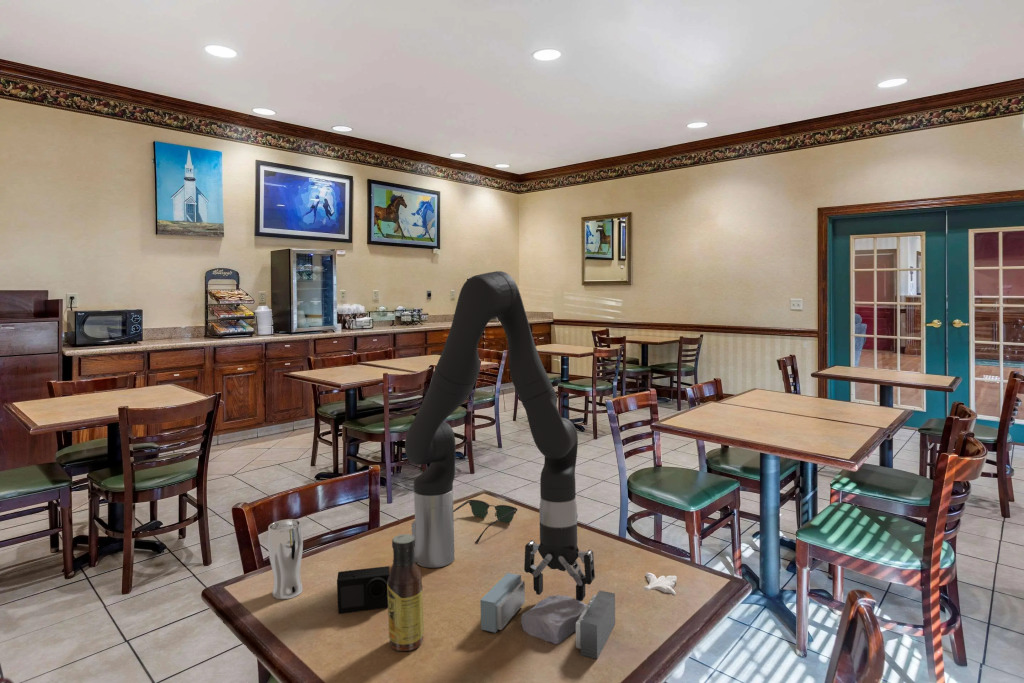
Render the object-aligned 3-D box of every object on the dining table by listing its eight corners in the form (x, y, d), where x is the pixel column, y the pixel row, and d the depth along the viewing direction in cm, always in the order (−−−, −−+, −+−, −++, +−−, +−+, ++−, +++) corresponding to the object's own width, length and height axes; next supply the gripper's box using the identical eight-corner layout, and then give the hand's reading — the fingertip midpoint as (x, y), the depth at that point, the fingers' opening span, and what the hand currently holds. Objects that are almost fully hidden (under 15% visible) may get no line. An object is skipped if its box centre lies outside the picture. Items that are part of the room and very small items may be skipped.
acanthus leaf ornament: (645, 578, 131) (645, 569, 131) (677, 582, 129) (677, 573, 128) (642, 593, 124) (642, 584, 123) (675, 598, 121) (675, 589, 121)
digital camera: (337, 617, 115) (335, 583, 115) (338, 604, 121) (337, 571, 120) (390, 610, 118) (389, 576, 117) (390, 597, 123) (389, 565, 122)
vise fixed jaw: (575, 653, 102) (574, 620, 101) (594, 619, 113) (594, 589, 112) (597, 659, 100) (596, 625, 100) (615, 623, 111) (614, 593, 111)
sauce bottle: (391, 635, 109) (388, 530, 107) (425, 632, 109) (422, 529, 108) (386, 656, 102) (383, 545, 101) (422, 653, 103) (419, 543, 101)
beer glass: (311, 588, 127) (309, 521, 126) (287, 603, 121) (284, 532, 120) (288, 582, 130) (285, 516, 129) (263, 596, 124) (259, 528, 123)
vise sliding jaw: (481, 629, 109) (480, 599, 109) (508, 599, 120) (507, 572, 120) (500, 633, 108) (499, 604, 107) (525, 603, 119) (525, 576, 118)
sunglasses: (434, 535, 157) (433, 516, 157) (470, 515, 172) (469, 498, 171) (485, 546, 149) (485, 527, 148) (518, 524, 163) (518, 507, 163)
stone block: (517, 639, 110) (559, 648, 103) (513, 613, 110) (555, 620, 104) (554, 615, 119) (595, 622, 113) (550, 591, 119) (591, 596, 113)
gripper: (518, 520, 116) (519, 599, 117) (586, 530, 110) (587, 613, 111) (532, 508, 123) (533, 582, 124) (598, 517, 117) (598, 595, 118)
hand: (559, 597), depth 118 cm, fingers open, 8 cm apart
